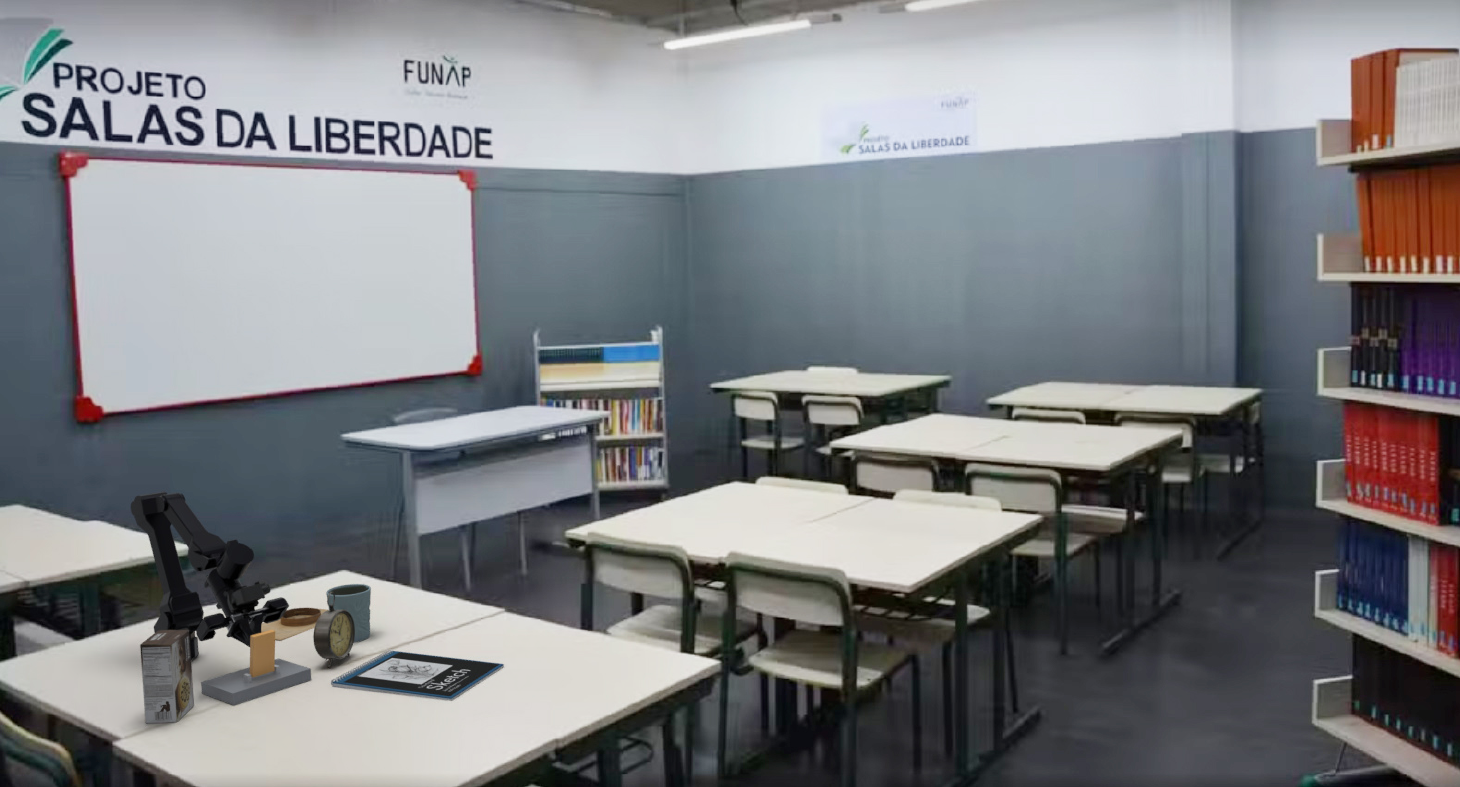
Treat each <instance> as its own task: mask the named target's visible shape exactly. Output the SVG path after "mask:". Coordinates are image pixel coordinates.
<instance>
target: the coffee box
mask: <svg viewBox="0 0 1460 787" xmlns="http://www.w3.org/2000/svg"><path fill="white" fill-rule="evenodd" d="M139 647H140V659H141V660H140V661H141V662H140V663H141V676H142V691H143V703H144V704H143V705H144V722H145V723H146V724H160V723H162V724H164V723H165V724H166V723H177V722H179V721H180V720H181V719H182V718H183V717H184V716H185V714H188V712H189V711H190V710H191V709H192V708H193V707H194V706H195V696H194V681H193V667H192V666H193V665H192V661H191V651H190V637H189V630H159V631H157V632H156V633H155V632H154V633H153V634H152V635H150V636H149V637H148V638H147V639H146V640H144V641H143V642H142V643H141V644H139Z"/></svg>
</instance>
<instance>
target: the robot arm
mask: <svg viewBox="0 0 1460 787" xmlns="http://www.w3.org/2000/svg"><path fill="white" fill-rule="evenodd" d="M130 512H131V514H132V515H133V517H134V519H135V522H136V524H137V526H138V527H139V528H140V529H142V530H143V532H145V533H146V534H147V536H148V540H149V543H150V544H149V545H150V548H151V551H152V555H153V559H154V562H155V566H156V570H157V574H158V578H159V582H160V585H161V589H162V592H163V595H162V598H161V600H160V601H161V602H160V604H159V608H158V609H159V617H158V619H157V620H156V622H155V623H154V624H153V631H154V633H156V632H157V631H159V630H189V637H190V651H191V662H193V661H194V660H195V658H196V657H198V655H200V653H199V652H200V651H199V642H204V641H208V640H213V639H214V638H215V635H216V634H217V633H216V631H217V630H219V629H220V630H221V629H224V628H226V629H227V633H226V634H225V635H226V638H233V639H234V640H236V641H238V642H240V643H242V644H244V645H246V646H247V647H249V648H250V636H251V635H254V634H258V633H261V625H262V623H271V622H275V621H278V620H279V619H281V617H282V616H283V614H284V613H285V611H286V610H288V609H289V607H290V604H289V603H288V601H287V599H286V598H284V597H276V598H273V599H269V600H267V601H266V602H265V603H264V605H263V606H262V607H261V608H258V609H256V607H258V605H259V604H260V602H259V601H260V600H262V599H263V600H264V599H265V598H266V595H268V594H270V593H271V587H270V584H269V582H268V581H267V579H266V578H264V579H260V580H258V581H255V582H254V584H253V585H249V586H247V585H243V584H242V583H241V581H240V578H242V577H243V576H244V575H245V573H246V572H247V570H248V568H249V567H250V565H251V564H252V561H253V560H254V558H255V554H254V551H253V549H252V548H251V547H250V546H248V545H246V544H244V543H239V541H238V539H231V540H228V541H227V542H225V541H224V540H223V539H222V538H221V537H220V536H218V535H216V534H215V533H214V534H213V533H211V532H209V531H208V530H207V529H206V527H205V526H204V525H203V523H202V522H201V521H200V520H199V518H198V517H197V516H196V514H195V513H194V511H193V510H192V509H191V507H190V506H189V505H188V503H187V502H186V498H185V496H184V494H183V493H181V492H173V493H172V492H171V493H168V492H166V491H160V492H153V493H152V492H151V493H146V494H145V493H144V494H139V495H136V496H135V497H134V500H133V501H131V503H130ZM172 526H173V528H174V529H175V531H176V532H177V533H178V535H179V536H180V538H181V539H182V540H183V542H184V544H185V545H186V547H187V556H186V557H187V558H188V560H189V563H190V566H192V567H193V569H194V570H195V571H196V572H199V573H200V572H201V573H202V572H206V571H210V570H211V571H210V572H209V574H207V575H206V576H205V577H206V579H205V581H204V585H203V586H204V589H207V588H210V590H211V591H212V593H213V595H214V596H215V599H216V600H217V603H216V605H215V606H216V608H217V610H220V609H221V611H222V612H218V613H214V614H210V615H206V616H205V614H204V613H205V612H204V608H203V605H202V604H201V601H200V600H201V599H200V596H199V593H198V592H197V591H192V590H191V589H189V588H188V587H187V584H186V579H185V577H184V572H183V568H182V564H181V562H180V558H179V554H178V550H177V547H176V542H175V539H174V535H173V532H172V528H171V527H172Z"/></svg>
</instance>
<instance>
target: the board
mask: <svg viewBox="0 0 1460 787" xmlns="http://www.w3.org/2000/svg"><path fill="white" fill-rule="evenodd" d="M327 610H328V609H324V608H323V609H322V608H318V607H317V608H315V607H295V608H290V609H289V608H288V609H287V610H286V611H285V613H284V614H283V616H282V617H281V619H279V620H278V621H275V622H271V623H264V622H263V623H262V625H261V632H265V631H269V630H274V631H275V642H276V641H277V642H280V641H281V642H282V641H284V640H288V639H290V638H293V637H294V636H297V635H300V634H303V633H304V632H307V631H310V630H312V629H313V630H314V628H315V624H316V622H317V620H318V618H319V617H320V615H321V614H322V613H323V612H325V611H327Z"/></svg>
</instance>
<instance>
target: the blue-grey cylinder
mask: <svg viewBox="0 0 1460 787" xmlns="http://www.w3.org/2000/svg"><path fill="white" fill-rule="evenodd" d="M325 592H326V593H325V595H326V599H327V598H328V595H329V593H330V592H333V593H334V594H335V603H334V606H333V608H334V610H347V611H348V612H349V613H350V614H351V616H352V618H353V621H354V625H355V638H354V643H358V642H362V641H365V640H367V639H369V638H370V636H371V623H370V620H371V609H370V607H371V597H372V596H371V595H372V594H371V593H372V588H371V586H370V585H368V584H365V583H351V584H342V585H338V586H335V587H331V588H329V589H327V591H325ZM333 601H334V596H333V594H332V593H331V594H330V596H329V601H328V603H329V605H330V604H333ZM328 610H330V607H329V606H328Z"/></svg>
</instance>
